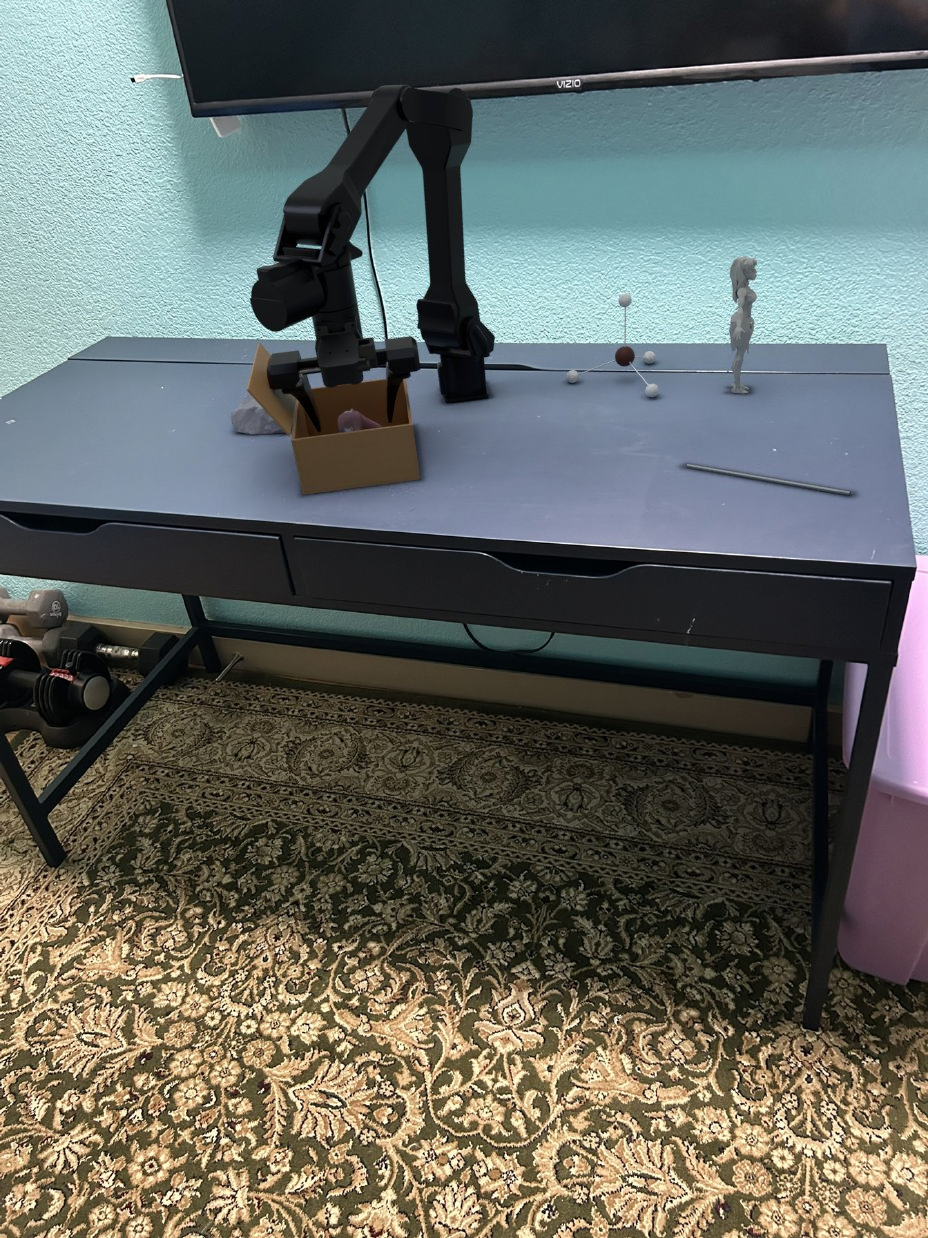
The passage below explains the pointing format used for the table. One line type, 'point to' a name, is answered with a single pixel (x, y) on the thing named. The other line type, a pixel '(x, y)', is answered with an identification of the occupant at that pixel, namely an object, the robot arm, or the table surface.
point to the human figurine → (741, 315)
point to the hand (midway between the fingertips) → (355, 426)
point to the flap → (270, 392)
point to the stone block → (255, 418)
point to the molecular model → (624, 355)
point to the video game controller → (355, 422)
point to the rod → (770, 480)
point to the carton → (354, 440)
